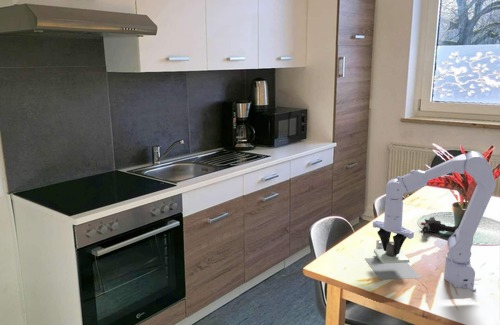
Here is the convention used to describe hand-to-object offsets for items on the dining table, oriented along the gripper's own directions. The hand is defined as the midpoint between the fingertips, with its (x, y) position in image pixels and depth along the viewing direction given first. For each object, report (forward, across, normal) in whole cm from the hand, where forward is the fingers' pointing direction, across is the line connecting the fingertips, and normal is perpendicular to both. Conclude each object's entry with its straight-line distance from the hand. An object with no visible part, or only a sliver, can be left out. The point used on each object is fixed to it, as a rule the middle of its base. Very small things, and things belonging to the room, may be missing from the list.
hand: (391, 251), depth 151 cm
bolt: (+5, +8, -6) cm, 11 cm away
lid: (+2, 0, 0) cm, 2 cm away
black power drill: (+8, +7, -48) cm, 49 cm away
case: (+8, +1, -2) cm, 8 cm away
